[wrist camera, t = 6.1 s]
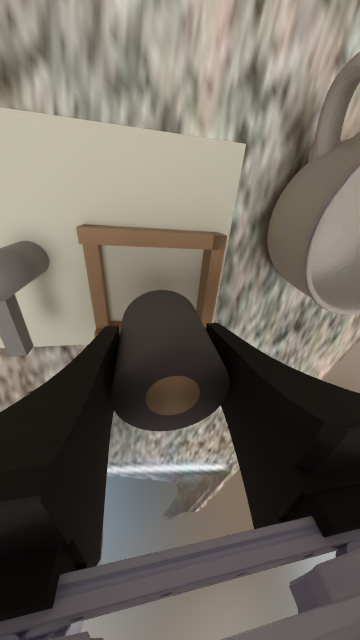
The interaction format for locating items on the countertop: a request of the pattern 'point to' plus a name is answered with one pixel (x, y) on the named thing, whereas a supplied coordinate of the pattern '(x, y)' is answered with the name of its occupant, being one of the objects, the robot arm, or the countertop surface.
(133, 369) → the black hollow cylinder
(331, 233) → the teacup
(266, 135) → the countertop surface
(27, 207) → the board
